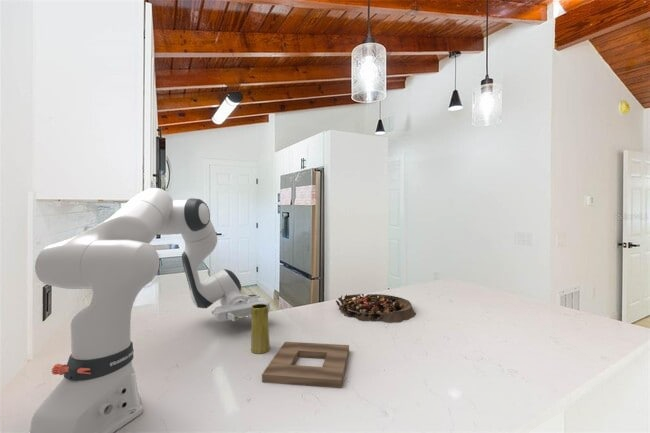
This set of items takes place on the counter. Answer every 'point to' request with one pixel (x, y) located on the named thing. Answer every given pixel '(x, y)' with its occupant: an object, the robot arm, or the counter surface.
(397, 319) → the food dish
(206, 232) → the robot arm
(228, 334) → the counter surface
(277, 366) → the socket
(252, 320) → the vase
